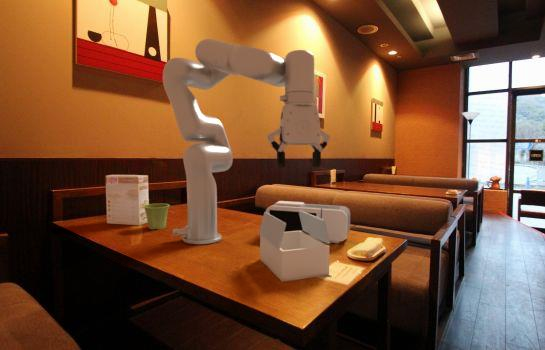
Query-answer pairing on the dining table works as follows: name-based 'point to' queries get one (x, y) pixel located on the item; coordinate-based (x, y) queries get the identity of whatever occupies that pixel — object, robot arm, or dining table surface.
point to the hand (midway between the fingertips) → (299, 167)
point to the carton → (296, 256)
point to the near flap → (272, 229)
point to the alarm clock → (333, 215)
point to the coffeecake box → (126, 199)
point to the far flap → (314, 226)
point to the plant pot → (156, 215)
